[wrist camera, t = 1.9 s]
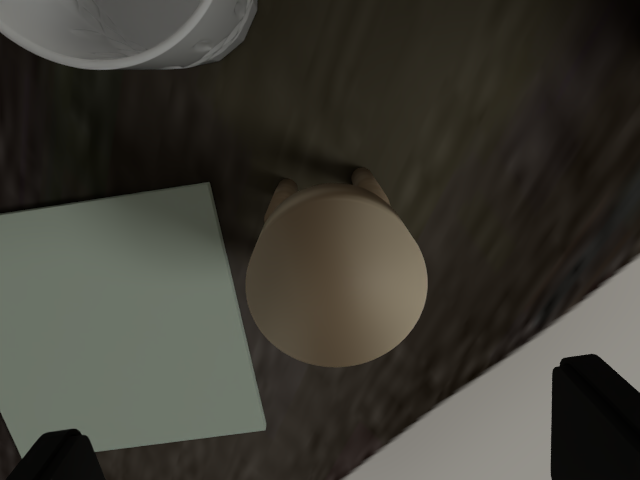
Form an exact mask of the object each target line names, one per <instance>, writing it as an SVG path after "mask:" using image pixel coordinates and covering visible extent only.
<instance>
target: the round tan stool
mask: <svg viewBox="0 0 640 480" xmlns="http://www.w3.org/2000/svg"><path fill="white" fill-rule="evenodd" d="M351 180H352V183H353V185H350V184H344V183H326V184H319V185H315V186H311V187H308V188H305V189H302V190H300V191H298V192H297V190H298V188H297V185H296V183H295V182H294V181H293V180H291V179H283V180H281V181H280V182H279V183H278V185H277V188H276V190H275V193H274V195H273V197H272V200H271V202H270V204H269V207H268V209H267V211H266V214H265V216H264V223H265V224H264V226H263V228H262V231H261V233H260V236H259V238H258V241H257V243H256V246H255V248H254V251H253V253H252V255H251V258H250V261H249V265H248V268H247V274H246V297H247V303H248V306H249V309H250V312H251V315H252V317H253V319H254V321H255V323H256V325H257V326H258V328H259V329H260V331H261V332H262V333H263V334H264V336H265V337H266V338H267V339H268V340H269V341H270V342H271V343H272V344H273V345H274V346H275V347H277V348H278V349H279V350H281V351H282V352H284V353H285V354H287V355H289V356H291V357H293V358H295V359H297V360H300V361H302V362H305V363H309V364H312V365H317V366H324V367H347V366H353V365H358V364H362V363H365V362H368V361H371V360H373V359H376V358H378V357H380V356H382V355H384V354H385V353H387V352H389V351H390V350H392V349H393V348H394V347H395V346H397V345H398V344H399V343H400V342H401V341H402V340H403V339H404V338H405V337H406V336H407V335H408V334H409V333H410V331H411V330H412V329H413V327H414V326H415V324H416V322H417V321H418V319H419V317H420V315H421V312H422V310H423V307H424V304H425V300H426V295H427V271H426V265H425V262H424V259H423V255H422V253H421V251H420V249H419V247H418V245H417V243H416V242H415V240H414V239H413V237H412V236H411V234H410V233H409V231H408V230H407V228H406V227H405V225H404V224H403V222H402V220H401V219H400V217H399V216H398V214H397V213H396V212H395V211H394V209H393V208H392V207H391V206H390V202H389V199H388V198H387V196H386V195H385V193H384V192H383V190H382V189H381V187H380V186H379V184H378V183H377V181H376V180H375V178H374V177H373V175H372V174H371V172H370V171H369V170H368V169H366V168H358V169H356V170H355V171H354V172H353V173H352V176H351Z"/></svg>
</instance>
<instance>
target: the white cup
mask: <svg viewBox="0 0 640 480" xmlns="http://www.w3.org/2000/svg"><path fill="white" fill-rule="evenodd" d="M256 12H257V0H0V32H1V33H2V34H3V35H4V36H6V37H7V38H9V39H10V40H12V41H13V42H15V43H16V44H18V45H19V46H21V47H23V48H24V49H26V50H28V51H30V52H32V53H34V54H36V55H38V56H40V57H43V58H45V59H48V60H50V61H53V62H56V63H59V64H63V65H66V66H71V67H76V68H82V69H91V70H169V69H182V68H190V67H194V66H198V65H203V64H208V63H213V62H218V61H220V60H221V59H223V58H224V57H225V56H226V55H227V54H229V53H230V52H231V51H232V50H233V49H235V48H236V47H237V46H238V45H239V44H241V43H242V42H243V41H244V39H245V37H246V35H247V32H248V30H249V28H250V26H251V23H252V21H253V19H254V16H255V14H256Z"/></svg>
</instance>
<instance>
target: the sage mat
mask: <svg viewBox="0 0 640 480" xmlns="http://www.w3.org/2000/svg"><path fill="white" fill-rule="evenodd" d="M0 412H1V414H2V416H3V419H4V421H5V423H6V425H7V427H8V429H9V431H10V434H11V436H12V438H13V440H14V442H15V444H16V446H17V449H18V451H19V453H20V455H21V457H22V458H23V457H24V456H25V455H26V453H27V452H28V451H29V450H30V448H31V447H32V446H33V445H34V443H35V442H36V441H37V439H38V438H39V437H40V436H41V435H42V434H44V433H47V432H52V431H59V430H66V429H77V430H79V431H80V432H81V434H82V435H86V436H88V438H89V439H90V442H91V444H92V447H93V449H94V452H98V451H105V450H113V449H121V448H129V447H137V446H145V445H153V444H160V443H168V442H176V441H184V440H192V439H200V438H208V437H215V436H223V435H231V434H239V433H247V432H255V431H263V430H266V421H265V417H264V413H263V408H262V404H261V400H260V395H259V391H258V387H257V383H256V378H255V374H254V370H253V365H252V361H251V357H250V353H249V348H248V344H247V340H246V335H245V331H244V327H243V323H242V318H241V314H240V310H239V306H238V301H237V297H236V293H235V288H234V284H233V280H232V276H231V271H230V267H229V263H228V258H227V254H226V250H225V246H224V241H223V237H222V233H221V229H220V224H219V220H218V216H217V211H216V207H215V203H214V199H213V194H212V190H211V186H210V182H206V183H199V184H192V185H186V186H179V187H173V188H166V189H159V190H153V191H146V192H140V193H133V194H127V195H120V196H113V197H107V198H100V199H94V200H87V201H81V202H74V203H67V204H61V205H54V206H48V207H41V208H35V209H28V210H21V211H15V212H8V213H2V214H0Z"/></svg>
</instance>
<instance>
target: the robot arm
mask: <svg viewBox="0 0 640 480" xmlns="http://www.w3.org/2000/svg"><path fill="white" fill-rule="evenodd" d="M551 426H552V427H551V431H552V432H551V477H552V480H640V393H639V392H638V391H637V390H636V389H635V388H634V387H632V386H631V385H630V384H629V383H628V382H627V381H626V380H625V379H623V378H622V377H621V376H620V375H619V374H618V373H617V372H616V371H615V370H613V369H612V368H611V367H610V366H609V365H608V364H607V363H606V362H604V361H603V360H602V359H601V358H600V357H598V356H597V355H595V354H588V355H581V356H574V357H567V358H563V359H562V360H561V362H560V366H559V367H555V368H554V369H553V373H552V425H551ZM6 480H105V477H104V475H103V472H102V470H101V467H100V465H99V462H98V460H97V457H96V454H95V452H94V449H93V447H92V444H91V442H90V439H89V438H88V436H86V435H82V434H81V432H80V431H79V430H77V429H66V430H59V431H52V432H47V433H44V434H42V435H41V436H40V437H39V438H38V439H37V441H36V442H35V443H34V445H33V446H32V447H31V448H30V450H29V451H28V452H27V453H26V455H25V456H24V457H23V458H22V460H21V461H20V462H19V463H18V465H17V466H16V467H15V469H14V470H13V471H12V472H11V474H10V475H9V476H8V477H7V479H6Z"/></svg>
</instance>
